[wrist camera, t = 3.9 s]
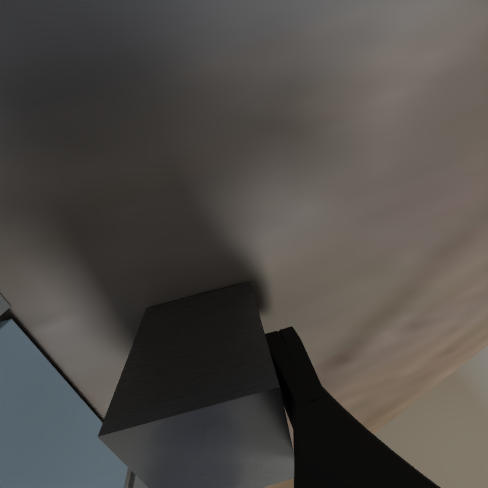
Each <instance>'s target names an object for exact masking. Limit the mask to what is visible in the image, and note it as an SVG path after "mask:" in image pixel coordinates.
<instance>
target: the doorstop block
mask: <svg viewBox="0 0 488 488" xmlns="http://www.w3.org/2000/svg"><path fill="white" fill-rule="evenodd" d="M98 438H99V439H100V440H101V441H102V442H103V443H104V444H105V445H106V446H107V447H108V448H109V449H110V450H111V451H112V452H113V453H114V454H115V455H116V456H117V457H118V458H119V459H120V460H121V461H122V462H123V463H124V464H125V465H126V466H127V467H128V468H129V469H130V470H131V471H132V472H133V473H134V474H135V475H136V476H137V477H138V478H139V479H140V480H141V481H142V482H143V483H144V484H145V485H146V486H147V487H148V488H262V487H265V486H269V485H272V484H275V483H279V482H282V481H286V480H289V479H293V478H294V452H293V447H292V442H291V438H290V433H289V428H288V423H287V419H286V414H285V409H284V404H283V400H282V395H281V390H280V386H279V382H278V379H277V375H276V372H275V368H274V365H273V361H272V358H271V354H270V351H269V347H268V344H267V340H266V337H265V333H264V330H263V326H262V323H261V319H260V316H259V312H258V309H257V305H256V302H255V298H254V295H253V291H252V288H251V284H250V282H248V283H244V284H240V285H236V286H232V287H228V288H224V289H220V290H216V291H212V292H208V293H204V294H200V295H196V296H192V297H188V298H184V299H180V300H177V301H173V302H169V303H165V304H161V305H157V306H153V307H149V308H147V309H146V311H145V314H144V317H143V319H142V322H141V324H140V327H139V330H138V332H137V335H136V338H135V340H134V343H133V345H132V348H131V351H130V353H129V356H128V358H127V361H126V364H125V366H124V369H123V371H122V374H121V377H120V379H119V382H118V385H117V387H116V390H115V392H114V395H113V398H112V400H111V403H110V405H109V408H108V411H107V413H106V416H105V419H104V421H103V424H102V426H101V429H100V432H99V434H98Z"/></svg>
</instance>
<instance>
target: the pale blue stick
mask: <svg viewBox="0 0 488 488" xmlns="http://www.w3.org/2000/svg"><path fill="white" fill-rule="evenodd" d="M102 424H103V423H102V422H101V421H100V419H99V418H98V417H97V416H96V415H95V414H94V413H93V411H92V410H91V409H90V408H89V407H88V406H87V405H86V403H85V402H84V401H83V400H82V399H81V398H80V397H79V395H78V394H77V393H76V392H75V391H74V390H73V389H72V387H71V386H70V385H69V384H68V383H67V382H66V381H65V379H64V378H63V377H62V376H61V375H60V374H59V373H58V371H57V370H56V369H55V368H54V367H53V366H52V365H51V363H50V362H49V361H48V360H47V359H46V358H45V357H44V355H43V354H42V353H41V352H40V351H39V350H38V349H37V347H36V346H35V345H34V344H33V343H32V342H31V341H30V339H29V338H28V337H27V336H26V335H25V334H24V333H23V331H22V330H21V329H20V328H19V327H18V326H17V325H16V323H15V322H14V321H13V320H12V319H9V320H5V321H1V322H0V488H124V484H125V479H126V474H127V470H128V467H127V466H126V465H125V464H124V463H123V462H122V461H121V460H120V459H119V458H118V457H117V456H116V455H115V454H114V453H113V452H112V451H111V450H110V449H109V448H108V447H107V446H106V445H105V444H104V443H103V442H102V441H101V440H100V439H99V438H98V434H99V432H100V429H101V426H102Z"/></svg>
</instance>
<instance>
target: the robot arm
mask: <svg viewBox="0 0 488 488" xmlns="http://www.w3.org/2000/svg"><path fill="white" fill-rule="evenodd" d="M265 337H266V340H267V344H268V347H269V351H270V354H271V358H272V361H273V365H274V368H275V372H276V375H277V379H278V382H279V386H280V390H281V395H282V400H283V404H284V407H285V409H286V412H287V414H288V417H289V420H290V422H291V425H292V427H293V435H294V488H440V487H439V486H437V485H436V484H435V483H433V482H432V481H431V480H429V479H428V478H427V477H425V476H424V475H423V474H421V473H420V472H419V471H418V470H416V469H415V468H414V467H413V466H411V465H410V464H409V463H407V462H406V461H405V460H404V459H402V458H401V457H400V456H399V455H397V454H396V453H395V452H394V451H392V450H391V449H390V448H389V447H388V446H386V445H385V444H384V443H383V442H382V441H381V440H379V439H378V438H377V437H376V436H375V435H373V434H372V433H371V432H370V431H369V430H368V429H366V428H365V427H364V426H363V425H362V424H361V423H360V422H358V421H357V420H356V419H355V418H354V417H353V416H352V415H351V414H350V413H349V412H348V411H347V410H345V409H344V408H343V407H342V406H341V405H340V404H339V403H338V402H337V401H336V400H335V399H334V398H333V397H332V396H331V395H330V394H329V393H328V392H327V391H326V390H325V389H324V388H323V387H322V386H321V383H320V381H319V379H318V377H317V374H316V372H315V370H314V368H313V365H312V363H311V361H310V359H309V356H308V354H307V352H306V350H305V348H304V345H303V343H302V341H301V339H300V338H299V336H298V334H297V333H296V331H295V330H294V328H293V327H288V328H285V329H281V330H280V331H279V332H278V331H274V332H271V333H267V334H265Z"/></svg>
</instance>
